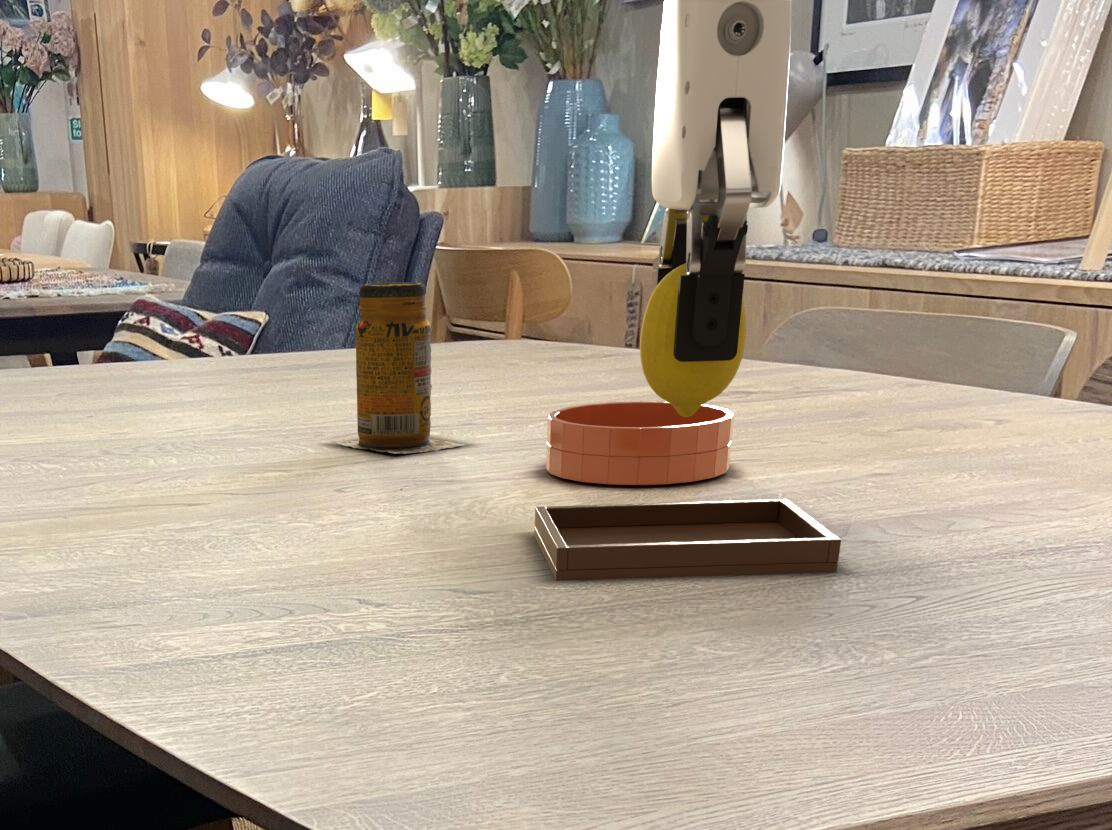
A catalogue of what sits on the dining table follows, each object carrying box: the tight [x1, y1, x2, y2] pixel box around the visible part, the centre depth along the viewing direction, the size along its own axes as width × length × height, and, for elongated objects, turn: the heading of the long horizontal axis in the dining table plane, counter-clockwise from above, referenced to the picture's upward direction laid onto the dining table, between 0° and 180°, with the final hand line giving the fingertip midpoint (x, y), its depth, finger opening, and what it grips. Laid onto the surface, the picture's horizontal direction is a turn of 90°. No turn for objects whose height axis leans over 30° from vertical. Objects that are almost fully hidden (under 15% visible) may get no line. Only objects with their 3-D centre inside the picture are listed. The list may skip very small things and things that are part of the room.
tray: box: [533, 498, 842, 582], centre depth 82 cm, size 15×11×2 cm
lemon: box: [639, 263, 747, 417], centre depth 77 cm, size 6×6×8 cm
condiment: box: [335, 281, 466, 455], centre depth 116 cm, size 7×8×12 cm
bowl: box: [545, 401, 735, 486], centre depth 104 cm, size 13×13×4 cm
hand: (692, 350), depth 78 cm, fingers closed on lemon, 5 cm apart
